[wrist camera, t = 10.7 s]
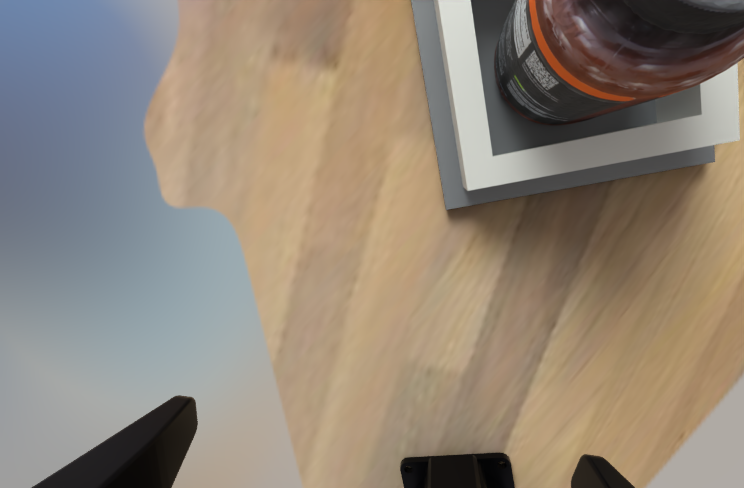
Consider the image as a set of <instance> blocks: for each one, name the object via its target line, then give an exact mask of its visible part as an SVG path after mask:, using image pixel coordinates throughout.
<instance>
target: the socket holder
mask: <svg viewBox="0 0 744 488" xmlns="http://www.w3.org/2000/svg"><path fill="white" fill-rule="evenodd" d="M514 2H515V0H411V3H412V9H413V15H414V21H415V27H416V33H417V39H418V45H419V51H420V57H421V63H422V69H423V75H424V81H425V87H426V93H427V99H428V105H429V111H430V117H431V123H432V129H433V135H434V141H435V147H436V153H437V159H438V165H439V171H440V177H441V183H442V189H443V195H444V201H445V207H446V210H448V209H454V208H460V207H465V206H471V205H476V204H482V203H488V202H493V201H499V200H504V199H510V198H516V197H521V196H527V195H532V194H538V193H544V192H549V191H555V190H560V189H566V188H571V187H577V186H583V185H588V184H594V183H599V182H605V181H611V180H616V179H622V178H627V177H633V176H639V175H644V174H650V173H655V172H661V171H667V170H672V169H678V168H683V167H689V166H695V165H700V164H706V163H711V162H715V151H714V145H717V144H722V143H727V142H733V141H738V140H740V131H739V99H738V68H737V63H736V64H735V65H733V66H732V67H730V68H729V69H727V70H726V71H724V72H722V73H720V74H718V75H716V76H715V77H713V78H711V79H709V80H707V81H705V82H703V83H701V84H699V85H696V86H694V87H691V88H688V89H685V90H682V91H679V92H676V93H673V94H670V95H668V96H665V97H662V98H659V99H655V100H652V101H649V102H645V103H642V104H638V105H635V106H631V107H629V108H625V109H622V110H619V111H615V112H612V113H609V114H605V115H602V116H599V117H596V118H593V119H589V120H586V121H583V122H577V123H573V124H567V125H545V124H539V123H535V122H532V121H530V120H528V119H526V118H524V117H522V116H521V115H519V114H518V113H517V112H516V111H514V110H513V109H512V108H511V107H510V105H509V104H508V103H507V102H506V101H505V99H504V97H503V96H502V94H501V92H500V90H499V87H498V85H497V83H496V77H495V70H494V56H495V49H496V46H497V42H498V39H499V35H500V32H501V29H502V27H503V25H504V23H505V21H506V19H507V17H508V15H509V13H510V11H511V8H512V6H513V4H514Z"/></svg>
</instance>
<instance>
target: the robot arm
mask: <svg viewBox="0 0 744 488" xmlns="http://www.w3.org/2000/svg"><path fill="white" fill-rule="evenodd" d="M197 425H198V421H197V412H196V402H195V400H194V398H192V397H187V396H175V397H173V398H171V399H170V400H168V401H167V402H165V403H163V404H162V405H160V406H159V407H157V408H156V409H154V410H152V411H151V412H149V413H148V414H146V415H145V416H143V417H141V418H140V419H138V420H137V421H135V422H134V423H132V424H131V425H129V426H128V427H126V428H124V429H123V430H121V431H120V432H118V433H116V434H115V435H113V436H112V437H110V438H109V439H107V440H105V441H104V442H102V443H101V444H99V445H98V446H96V447H94V448H93V449H91V450H90V451H88V452H87V453H85V454H84V455H82V456H80V457H79V458H77V459H76V460H74V461H73V462H71V463H69V464H68V465H66V466H65V467H63V468H62V469H60V470H58V471H57V472H56V473H54V474H52V475H51V476H49V477H47V478H46V479H44V480H43V481H41V482H40V483H38V484H37V485H35V486H33V487H32V488H171V487H172V485H173V483H174V481H175V478H176V476H177V474H178V472H179V469H180V467H181V465H182V462H183V460H184V458H185V456H186V453H187V451H188V449H189V447H190V445H191V442H192V440H193V438H194V435H195V433H196V430H197ZM501 461H502V462H504V463H503V464H499V462H501ZM406 466H410V467H412V468H407V467H406ZM400 470H401V475H402V480H403V484H404V488H515V487H514V481H513V474H512V468H511V463H510V459H509V457H508V456H507V455H506V454H504V453H484V454H465V455H446V456H427V457H409V458H404V459H403V460H402V461H401V467H400ZM571 488H635V487H634V486H633V485H632V484H631V483H630V482H629V481H628V480H627V479H626V478H624V477H623V476H622V475H621V474H620V473H619V472H618V471H617V470H616V469H615V468H614V467H613V466H612V465H611V464H610V463H609V462H608V461H607V460H606V459H604V458H603V457H600V456H594V455H587V454H585V455H583V456H581V458H580V460H579V462H578V465H577V467H576V469H575V472H574V474H573V476H572V480H571Z"/></svg>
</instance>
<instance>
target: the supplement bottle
mask: <svg viewBox="0 0 744 488" xmlns="http://www.w3.org/2000/svg"><path fill="white" fill-rule="evenodd" d="M743 58H744V0H515V2H514V4H513V6H512V8H511V11H510V13H509V15H508V17H507V19H506V21H505V23H504V25H503V27H502V29H501V32H500V35H499V39H498V42H497V46H496V49H495V56H494V70H495V77H496V83H497V85H498V87H499V90H500V92H501V94H502V96H503V97H504V99H505V101H506V102H507V103H508V104H509V105H510V107H511V108H512V109H513V110H514V111H516V112H517V113H518V114H519V115H521V116H522V117H524V118H526V119H528V120H530V121H532V122H535V123H539V124H545V125H567V124H573V123H577V122H583V121H586V120H589V119H593V118H596V117H599V116H602V115H605V114H609V113H612V112H615V111H619V110H622V109H625V108H629V107H631V106H635V105H638V104H642V103H645V102H649V101H652V100H655V99H659V98H662V97H665V96H668V95H670V94H673V93H676V92H679V91H682V90H685V89H688V88H691V87H694V86H696V85H699V84H701V83H703V82H705V81H707V80H709V79H711V78H713V77H715V76H716V75H718V74H720V73H722V72H724V71H726V70H727V69H729V68H730V67H732V66H733V65H735V64H736V63H737V62H739V61H740V60H742V59H743Z"/></svg>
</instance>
